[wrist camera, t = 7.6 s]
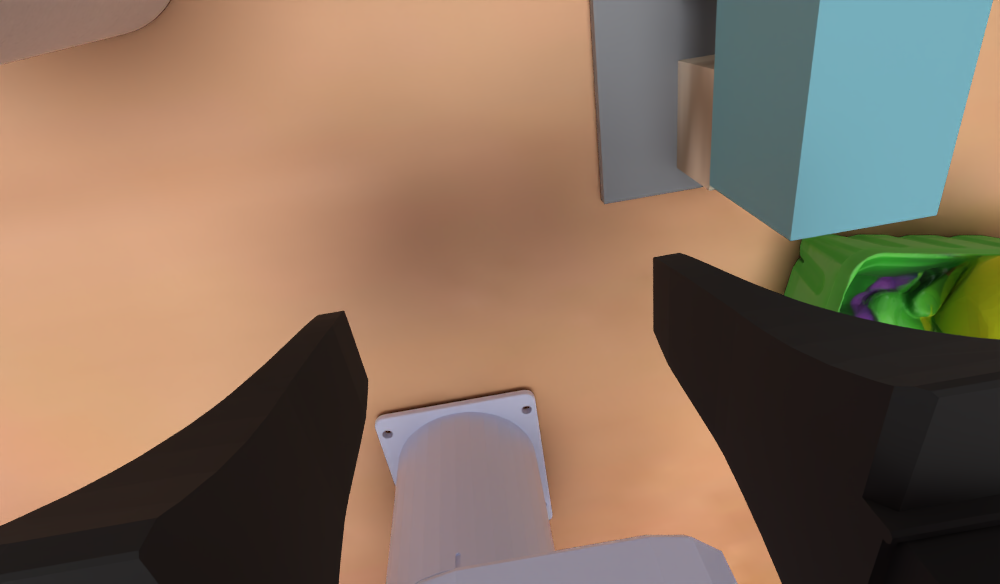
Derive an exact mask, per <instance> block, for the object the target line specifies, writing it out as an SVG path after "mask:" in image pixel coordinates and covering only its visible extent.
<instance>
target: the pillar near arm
mask: <svg viewBox="0 0 1000 584" xmlns="http://www.w3.org/2000/svg"><path fill="white" fill-rule="evenodd" d="M714 63H715V54H714V55H708V56H702V57H696V58H691V59H685V60H679V61H678V113H677V168H678V169H679V170H681V171H682V172H684V173H685V174H686V175H688V176H689V177H691V178H692V179H693V180H695V181H696V182H698V183H699V184H700V185H702V186H703V187H705V188H706V189H708V190H709V191H710V190H715V189H714V188H713V187H711V186H710V185H709V184H710V160H711V136H712V111H713V87H714Z"/></svg>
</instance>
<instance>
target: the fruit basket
mask: <svg viewBox="0 0 1000 584" xmlns="http://www.w3.org/2000/svg"><path fill="white" fill-rule="evenodd" d="M800 256H801V258H799V259H798V260H797V262H796V264H795V265H794V267H793V268H792V271H791V274H790V278H789V281H788V284H787V287H786V290H785V293H784V296H787V297H790V298H793V299H795V300H798V301H802V302H805V303H808V304H811V305H814V306H818V307H821V308H825V309H828V310H832V311H836V312H839V313H843V314H846V315H851V316H855V317H859V318H863V319H868V320H873V321H877V322H882V323H887V324H892V325H897V326H902V327H908V328H914V329H920V330H926V331H932V332H940V333H947V334H954V335H961V336H969V337H977V338H989V339H1000V238H995V237H989V236H982V235H957V236H953V237H950V238H948V237H943V236H938V235H906V236H902V237H894V236H890V235H866V234H859V235H854V236H850V237H844V236H840V235H835V234H827V235H822V236H816V237H810V238H805V239H802V241H801V244H800Z"/></svg>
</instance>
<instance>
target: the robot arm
mask: <svg viewBox="0 0 1000 584" xmlns="http://www.w3.org/2000/svg"><path fill="white" fill-rule="evenodd" d="M653 328H654V333H655V335H656V338H657V340H658V343H659V345H660V347H661V350H662V352H663V354H664V356H665V359H666V361H667V363H668V365H669V367H670V368H671V370H672V372H673V373H674V375H675V377H676V378H677V380H678V381H679V383H680V385H681V386H682V388H683V390H684V391H685V393H686V394H687V396H688V397H689V399H690V401H691V402H692V404H693V405H694V407H695V409H696V410H697V412H698V413H699V415H700V416H701V418H702V420H703V421H704V423H705V424H706V426H707V428H708V429H709V431H710V432H711V434H712V435H713V437H714V439H715V440H716V442H717V444H718V446H719V447H720V449H721V451H722V453H723V455H724V456H725V459H726V461H727V463H728V465H729V467H730V469H731V471H732V473H733V475H734V477H735V479H736V481H737V483H738V485H739V487H740V490H741V492H742V494H743V496H744V498H745V500H746V502H747V505H748V507H749V509H750V511H751V513H752V516H753V518H754V520H755V522H756V524H757V527H758V529H759V531H760V533H761V535H762V538H763V540H764V542H765V545H766V547H767V549H768V552H769V554H770V557H771V559H772V561H773V564H774V566H775V568H776V571H777V573H778V575H779V578H780V580H781V582H782V584H1000V339H989V338H977V337H969V336H961V335H954V334H947V333H940V332H932V331H926V330H920V329H914V328H908V327H902V326H897V325H892V324H887V323H882V322H877V321H873V320H868V319H863V318H859V317H855V316H851V315H846V314H843V313H839V312H836V311H832V310H828V309H825V308H821V307H818V306H814V305H811V304H808V303H805V302H802V301H798V300H795V299H793V298H790V297H787V296H784V295H782V294H779V293H776V292H773V291H771V290H768V289H765V288H763V287H760V286H758V285H755V284H753V283H751V282H748V281H746V280H743V279H741V278H739V277H736V276H734V275H732V274H729V273H727V272H725V271H723V270H720V269H718V268H716V267H714V266H711V265H709V264H707V263H704V262H702V261H700V260H697V259H695V258H693V257H690V256H687V255H685V254H681V253H676V254H670V255H665V256H659V257H653ZM367 395H368V378H367V375H366V372H365V369H364V366H363V363H362V361H361V358H360V355H359V352H358V349H357V346H356V343H355V340H354V338H353V335H352V332H351V329H350V326H349V323H348V320H347V317H346V314H345V312H344V311H340V312H334V313H328V314H322V315H318V316H316V317H315V318H314V319H313V320H311V321H310V322H309V323H308V324H307V325H306V326H305V327H304V328H302V329H301V330H300V331H299V332H298V333H297V334H296V335H295V336H294V337H293V338H292V339H291V340H290V341H289V342H288V343H287V344H286V345H285V346H284V347H283V348H281V349H280V350H279V351H278V352H277V353H276V354H275V355H274V356H273V357H272V358H271V359H270V360H269V361H268V362H267V363H266V364H264V365H263V366H262V367H261V368H260V369H259V370H258V371H257V372H255V373H254V374H253V375H252V376H251V377H250V378H248V379H247V380H246V381H245V382H244V383H243V384H242V385H240V386H239V387H238V388H237V389H236V390H235V391H233V392H232V393H231V394H230V395H229V396H227V397H226V398H225V399H224V400H222V401H221V402H220V403H218V404H217V405H216V406H215V407H213V408H212V409H211V410H209V411H208V412H206V413H205V414H204V415H202V416H201V417H200V418H198V419H197V420H195V421H194V422H193V423H191V424H190V425H188V426H187V427H185V428H184V429H182V430H181V431H179V432H178V433H176V434H175V435H173V436H171V437H170V438H168V439H167V440H165V441H163V442H162V443H160V444H159V445H157V446H156V447H154V448H152V449H151V450H149V451H148V452H146V453H144V454H143V455H141V456H140V457H138V458H136V459H134V460H133V461H131V462H129V463H127V464H126V465H124V466H122V467H120V468H118V469H117V470H115V471H113V472H111V473H109V474H108V475H106V476H104V477H102V478H100V479H98V480H96V481H94V482H92V483H90V484H89V485H87V486H85V487H83V488H81V489H79V490H77V491H75V492H73V493H71V494H69V495H67V496H65V497H63V498H60V499H58V500H56V501H54V502H52V503H50V504H48V505H45V506H43V507H41V508H39V509H37V510H35V511H32V512H30V513H28V514H26V515H24V516H22V517H19V518H17V519H15V520H13V521H11V522H8V523H6V524H4V525H2V526H0V584H339V572H340V560H341V550H342V541H343V531H344V522H345V515H346V510H347V504H348V499H349V494H350V489H351V485H352V480H353V476H354V471H355V467H356V462H357V457H358V453H359V448H360V444H361V439H362V434H363V429H364V424H365V419H366V410H367ZM525 406H530V407H529V408H527V409H523V407H525ZM375 429H376V432H377V435H378V438H379V441H380V444H381V446H382V449H383V452H384V455H385V458H386V461H387V464H388V466H389V469H390V472H391V475H392V478H393V481H394V484H395V486H396V491H395V500H394V510H393V520H392V529H391V539H390V549H389V558H388V568H387V578H386V584H737V582H736V580H735V578H734V576H733V574H732V572H731V570H730V568H729V565H728V563H727V561H726V559H725V557H724V555H723V553H722V551H720V550H718V549H716V548H713V547H711V546H709V545H707V544H705V543H703V542H701V541H699V540H697V539H695V538H693V537H690V536H686V535H643V536H637V537H631V538H626V539H620V540H614V541H608V542H603V543H597V544H591V545H585V546H580V547H574V548H568V549H562V550H557V551H555V548H554V543H553V538H552V533H551V528H550V523H549V520H550V519H551V518H552V508H551V502H550V495H549V488H548V482H547V475H546V468H545V462H544V455H543V448H542V442H541V435H540V428H539V422H538V415H537V409H536V402H535V397H534V394H533V393H532V392H531V391H529V390H520V391H515V392H509V393H503V394H498V395H492V396H486V397H481V398H475V399H469V400H464V401H458V402H452V403H447V404H441V405H435V406H429V407H424V408H418V409H412V410H407V411H401V412H395V413H390V414H384V415H381V416H379V417H378V418H377V419H376V421H375ZM384 431H391V433H386V432H384Z"/></svg>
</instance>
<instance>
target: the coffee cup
mask: <svg viewBox="0 0 1000 584" xmlns="http://www.w3.org/2000/svg"><path fill="white" fill-rule="evenodd" d="M169 1H170V0H0V65H2V64H6V63H10V62H14V61H18V60H22V59H26V58H30V57H34V56H39V55H43V54H47V53H51V52H55V51H59V50H63V49H67V48H71V47H75V46H79V45H83V44H87V43H91V42H95V41H99V40H103V39H107V38H111V37H115V36H119V35H123V34H127V33H130V32H133V31H135V30H138V29H140V28H142V27H144V26H145V25H147V24H149V23H150V22H151V21H153V20H154V19H155V18H156V17H157V16H158V15H159V14H160V13H161V12H162V11H163V10H164V9H165V7H166V6H167V4H168V3H169Z"/></svg>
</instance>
